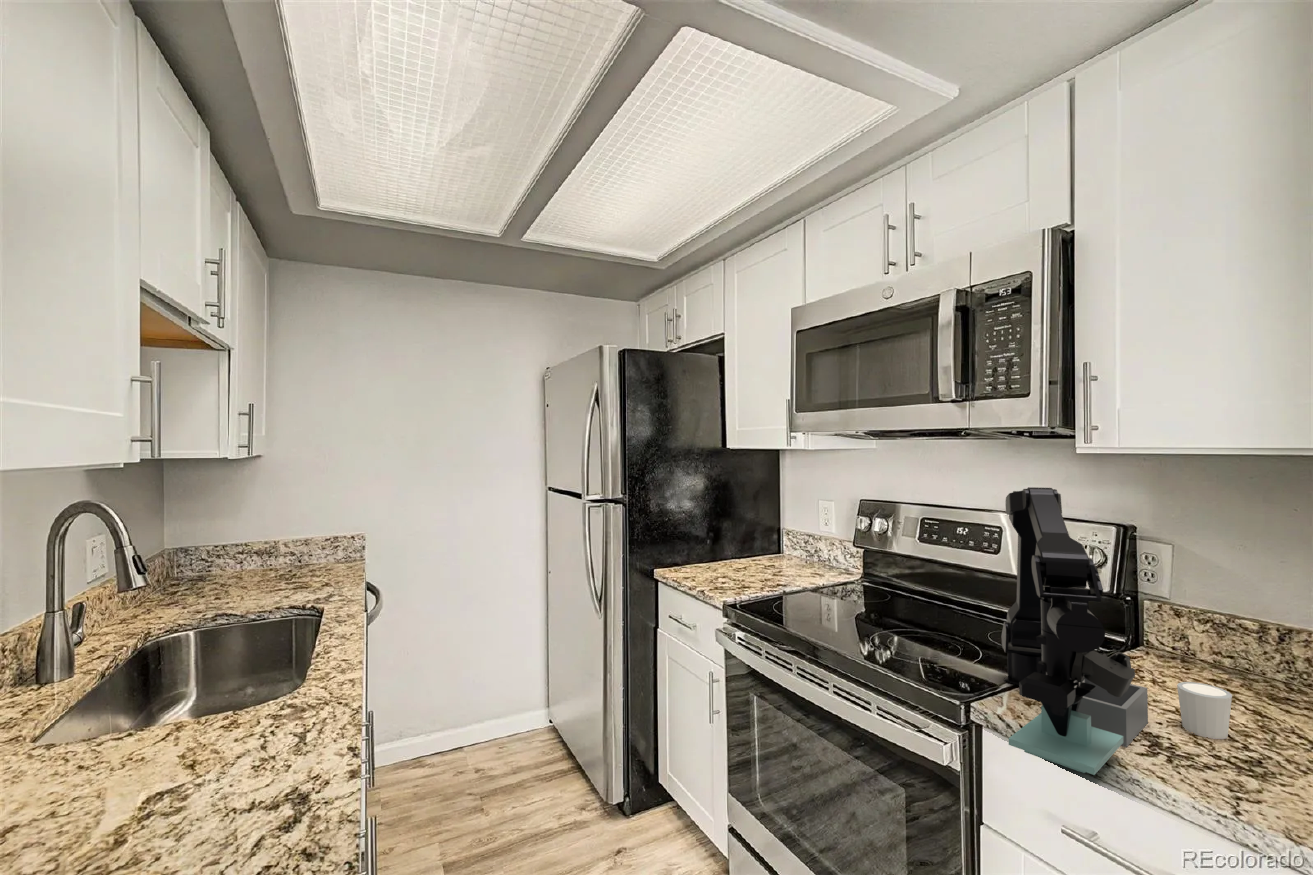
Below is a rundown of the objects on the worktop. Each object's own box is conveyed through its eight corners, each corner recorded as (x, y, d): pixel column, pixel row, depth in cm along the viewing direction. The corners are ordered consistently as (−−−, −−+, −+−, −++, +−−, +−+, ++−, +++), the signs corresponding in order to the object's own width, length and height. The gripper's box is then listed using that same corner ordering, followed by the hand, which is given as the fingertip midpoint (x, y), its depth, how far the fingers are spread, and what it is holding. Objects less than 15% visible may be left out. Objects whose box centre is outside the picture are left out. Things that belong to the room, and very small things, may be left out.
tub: (1054, 725, 104) (1054, 689, 104) (1079, 703, 112) (1079, 671, 112) (1126, 747, 96) (1126, 709, 96) (1148, 722, 104) (1147, 687, 104)
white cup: (1216, 724, 104) (1215, 683, 104) (1243, 743, 97) (1242, 699, 97) (1169, 719, 105) (1168, 679, 105) (1192, 738, 99) (1191, 695, 99)
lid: (1008, 751, 92) (1008, 712, 92) (1042, 723, 101) (1042, 687, 101) (1094, 782, 84) (1093, 739, 84) (1123, 749, 93) (1122, 709, 93)
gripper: (1108, 659, 81) (1110, 777, 81) (1145, 631, 92) (1147, 733, 92) (1017, 639, 89) (1018, 745, 89) (1061, 615, 101) (1063, 708, 101)
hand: (1064, 733), depth 93 cm, fingers closed on lid
